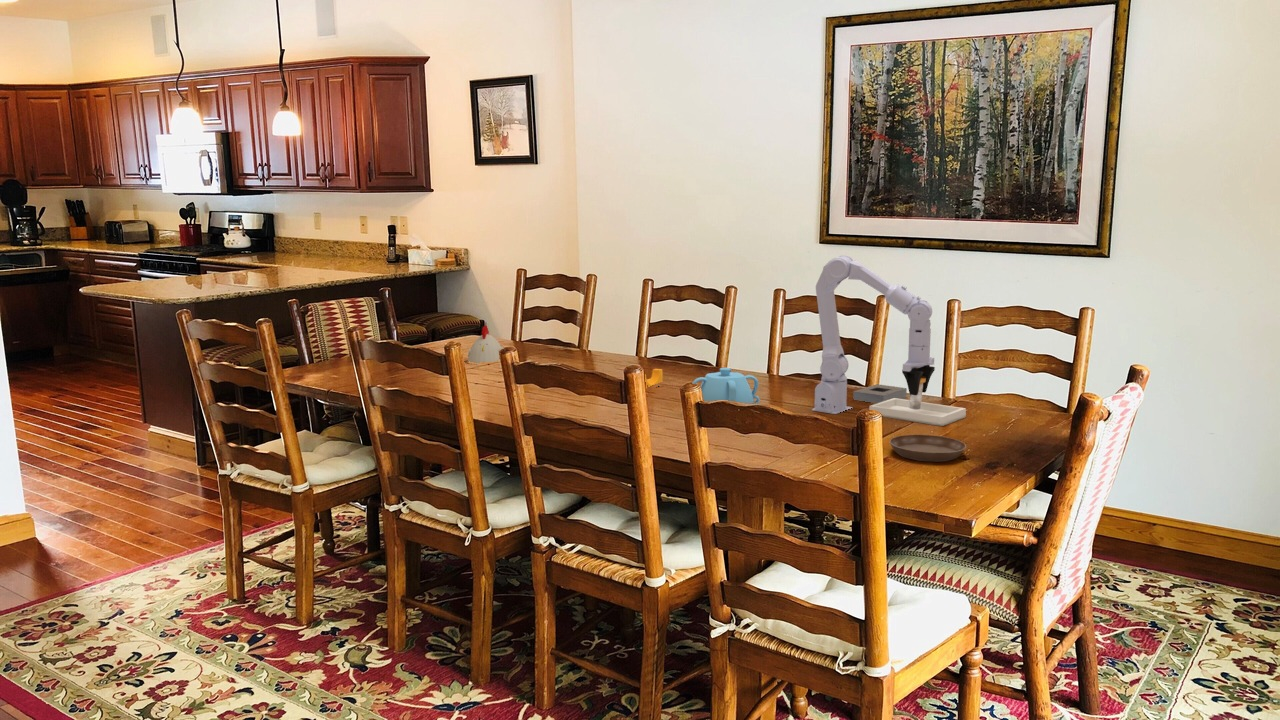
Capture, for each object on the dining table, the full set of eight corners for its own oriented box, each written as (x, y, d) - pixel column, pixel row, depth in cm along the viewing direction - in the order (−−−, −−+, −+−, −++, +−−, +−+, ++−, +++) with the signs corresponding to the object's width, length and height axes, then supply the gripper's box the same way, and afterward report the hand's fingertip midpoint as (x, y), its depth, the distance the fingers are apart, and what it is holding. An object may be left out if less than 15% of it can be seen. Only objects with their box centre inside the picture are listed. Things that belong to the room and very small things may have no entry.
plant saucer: (936, 442, 250) (936, 431, 250) (981, 460, 234) (982, 447, 233) (875, 449, 245) (875, 437, 244) (916, 468, 228) (917, 455, 228)
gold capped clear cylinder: (917, 411, 277) (920, 380, 274) (903, 407, 280) (906, 376, 277) (926, 407, 280) (929, 377, 277) (912, 403, 283) (915, 373, 280)
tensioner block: (882, 405, 292) (883, 395, 292) (853, 401, 299) (853, 391, 299) (906, 397, 303) (906, 388, 302) (876, 393, 309) (877, 384, 309)
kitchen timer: (464, 369, 362) (462, 328, 360) (472, 362, 376) (470, 323, 373) (502, 369, 361) (500, 328, 359) (508, 362, 375) (507, 323, 372)
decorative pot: (729, 424, 272) (730, 375, 270) (684, 416, 283) (684, 368, 280) (765, 414, 284) (765, 367, 281) (720, 406, 294) (721, 361, 292)
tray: (942, 426, 266) (942, 417, 266) (869, 414, 281) (869, 405, 281) (965, 417, 276) (965, 408, 276) (893, 406, 291) (894, 398, 291)
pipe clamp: (651, 387, 324) (651, 368, 323) (662, 389, 322) (662, 369, 321) (631, 394, 314) (630, 374, 313) (642, 395, 312) (642, 375, 311)
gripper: (920, 349, 267) (918, 399, 270) (945, 343, 278) (943, 391, 280) (896, 347, 272) (894, 396, 274) (921, 341, 283) (920, 388, 285)
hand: (917, 393), depth 278 cm, fingers closed on gold capped clear cylinder, 4 cm apart
